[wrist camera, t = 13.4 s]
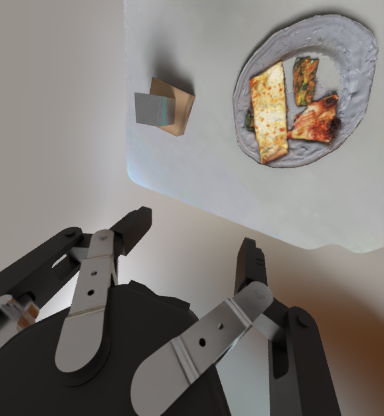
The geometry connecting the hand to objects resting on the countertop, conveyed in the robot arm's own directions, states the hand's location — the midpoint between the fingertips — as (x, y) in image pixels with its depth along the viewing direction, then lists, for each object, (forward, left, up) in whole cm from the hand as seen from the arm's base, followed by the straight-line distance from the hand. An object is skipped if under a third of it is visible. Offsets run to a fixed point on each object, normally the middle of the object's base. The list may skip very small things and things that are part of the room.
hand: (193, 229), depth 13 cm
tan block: (-7, -17, -34) cm, 39 cm away
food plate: (-11, +10, -35) cm, 38 cm away
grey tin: (-7, -17, -29) cm, 35 cm away
